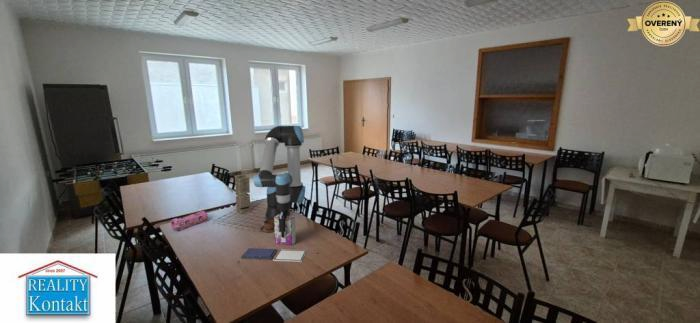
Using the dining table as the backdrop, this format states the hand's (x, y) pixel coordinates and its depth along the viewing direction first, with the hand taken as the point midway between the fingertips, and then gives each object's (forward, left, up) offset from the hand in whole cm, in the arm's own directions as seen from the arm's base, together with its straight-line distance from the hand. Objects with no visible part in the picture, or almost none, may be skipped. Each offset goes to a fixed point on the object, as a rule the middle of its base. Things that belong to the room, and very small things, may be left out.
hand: (285, 239), depth 169 cm
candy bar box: (0, 0, -3) cm, 3 cm away
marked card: (+14, +7, -2) cm, 16 cm away
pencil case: (-20, -71, -3) cm, 74 cm away
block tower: (-47, -46, -3) cm, 66 cm away
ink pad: (+14, -10, -2) cm, 17 cm away
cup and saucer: (-18, -15, -3) cm, 24 cm away
